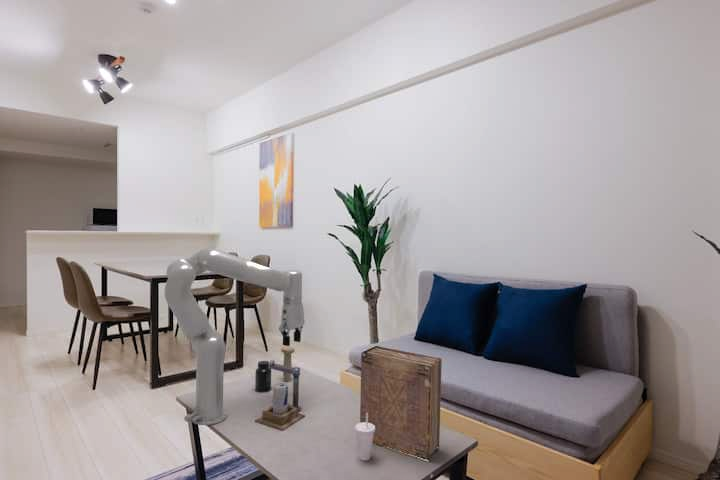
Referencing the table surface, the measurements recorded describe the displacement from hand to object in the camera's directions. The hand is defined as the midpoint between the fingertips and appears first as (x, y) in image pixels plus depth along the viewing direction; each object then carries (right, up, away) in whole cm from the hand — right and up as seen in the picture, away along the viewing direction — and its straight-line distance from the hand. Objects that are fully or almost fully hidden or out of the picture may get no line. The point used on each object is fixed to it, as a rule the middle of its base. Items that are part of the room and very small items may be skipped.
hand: (291, 343), depth 170 cm
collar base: (0, -24, -15) cm, 28 cm away
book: (+41, -26, -33) cm, 59 cm away
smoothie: (+30, -26, -42) cm, 57 cm away
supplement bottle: (-14, -23, +11) cm, 29 cm away
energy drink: (-2, -24, -17) cm, 29 cm away
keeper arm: (-2, -10, -7) cm, 12 cm away
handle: (-6, -23, +22) cm, 32 cm away
